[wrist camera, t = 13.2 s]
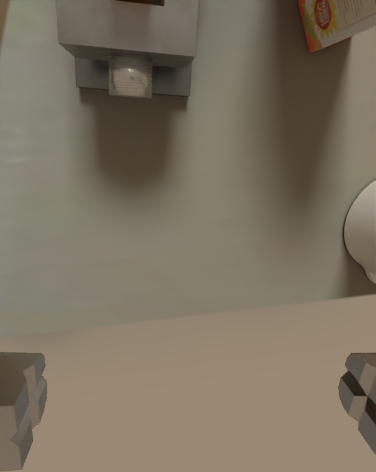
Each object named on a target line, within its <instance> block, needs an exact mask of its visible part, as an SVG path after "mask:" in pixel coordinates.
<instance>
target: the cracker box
mask: <svg viewBox="0 0 376 472" xmlns="http://www.w3.org/2000/svg"><path fill="white" fill-rule="evenodd" d="M297 1H298V5H299V10H300V14H301V19H302V23H303V27H304V32H305V36H306V41H307V45H308V50H309V53H312V52H315V51H318V50H320V49H323V48H325V47H328V46H330V45H333V44H335V43H337V42H340V41H342V40H344V39H347V38H349V37H351V36H354V35H356V34H358V33H360V32H363V31H365V30H367V29H370V28H372V27H374V26H376V0H297Z"/></svg>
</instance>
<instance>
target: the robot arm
mask: <svg viewBox="0 0 376 472" xmlns="http://www.w3.org/2000/svg"><path fill="white" fill-rule="evenodd" d="M344 239H345V244H346V247H347V249H348V251H349V253H350V255H351V256H352V257H353V258H354V259H355V260H356V261H357V262H358V263H359V264H361V265H362V266H363V267H364V269H365V272H366V275H367V277H368V279H369V280H370V281H372V282H373V283H375V284H376V180H375V181H374V182H372V183H371V184H370V185H368V186H367V187H366V188H365V189H364V190H363V191H362V192H361V193H360V194H359V196H358V197H357V198H356V200H355V201H354V203H353V204H352V206H351V208H350V210H349V212H348V215H347V218H346V222H345V228H344ZM345 365H346V368H347V370H348V371H347V372H346V373H345V374H344V375H343V376H342V377H341V379H340V383H339V387H338V388H339V397H340V400H341V402H342V405H343V407H344V409H345V410H346V412H347V413H348V415H350V416H351V417H353V418H354V419H355V420H357V421H358V422H359V425H358V426H359V427H358V430H359V431H360V433H361V434H362V436H363V437H364V439H365V440H366V442H367V443H368V445H369V446H370V448H371V449H372V451H373V452H374V454H376V353H351V354H350V355H349V356H348V357H347V360H346V363H345ZM44 368H45V358H44V355H43V354H42V353H16V352H0V471H12V470H22V468H23V465H24V463H25V460H26V458H27V455H28V453H29V450H30V447H31V445H32V442H33V434H32V429H33V428H34V427H35V426H36V425H37V424H39V423H40V421H41V418H42V415H43V412H44V408H45V403H46V399H47V381H46V380H45V379H44V377H43V376H42V373H43V371H44Z"/></svg>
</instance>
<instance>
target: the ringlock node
mask: <svg viewBox="0 0 376 472" xmlns="http://www.w3.org/2000/svg"><path fill="white" fill-rule="evenodd" d="M198 9H199V0H152V5H150V4H142V3H133V2H125V1H117V0H56V11H57V27H58V43H59V44H60V45H62V46H63V47H64V48H65V49H66V50H67V51H69V52H70V53H71V54H72V55H73V56H74V57H75V69H76V87H79V88H88V89H100V90H109V95H111V96H118V97H126V98H139V99H151V98H152V94H159V95H171V96H183V97H189V96H190V83H191V67H192V60H193V59H194V58H195V53H196V38H197V24H198Z"/></svg>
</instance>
